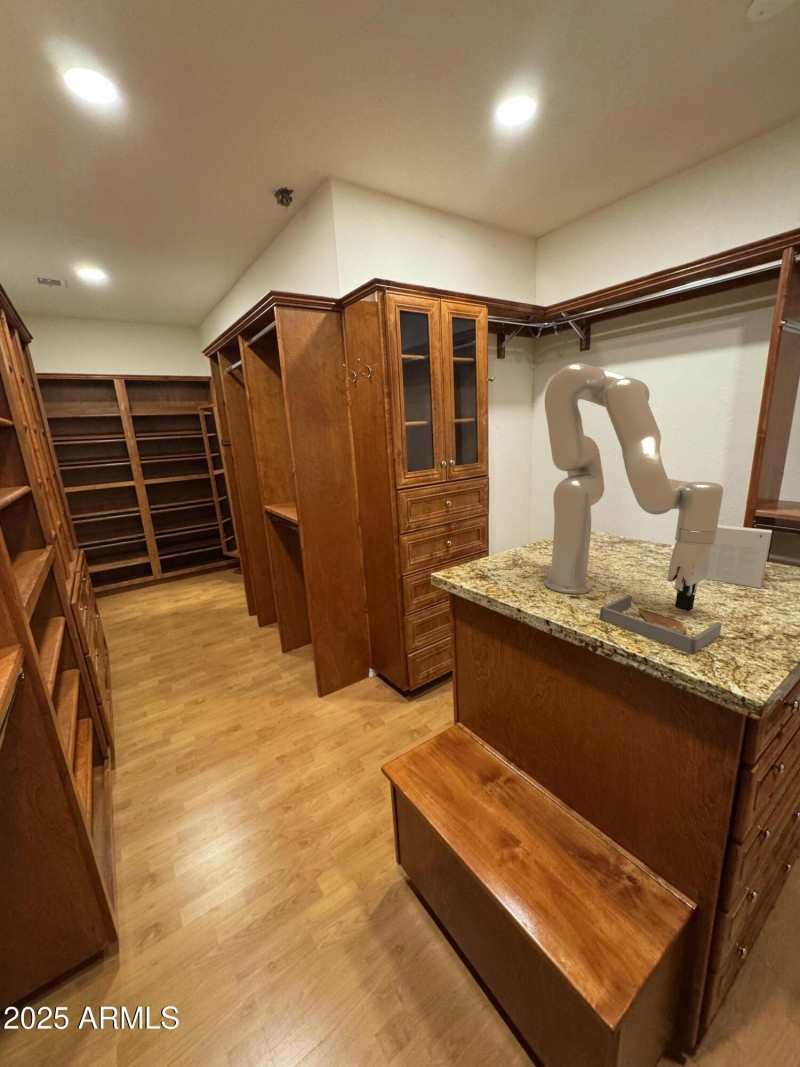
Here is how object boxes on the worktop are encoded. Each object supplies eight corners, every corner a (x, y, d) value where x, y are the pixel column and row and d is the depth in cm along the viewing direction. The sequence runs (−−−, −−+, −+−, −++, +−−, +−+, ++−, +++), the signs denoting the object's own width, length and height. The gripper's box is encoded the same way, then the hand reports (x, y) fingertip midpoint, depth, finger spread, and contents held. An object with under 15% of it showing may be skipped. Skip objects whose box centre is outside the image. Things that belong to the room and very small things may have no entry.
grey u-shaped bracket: (599, 619, 97) (600, 607, 96) (627, 605, 104) (629, 594, 103) (693, 654, 81) (695, 640, 80) (719, 635, 88) (721, 623, 87)
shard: (636, 613, 101) (637, 606, 100) (671, 615, 99) (672, 608, 98) (652, 633, 90) (653, 626, 90) (691, 637, 89) (692, 629, 88)
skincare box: (762, 583, 116) (773, 529, 112) (761, 589, 112) (772, 533, 109) (674, 568, 130) (682, 520, 126) (671, 573, 126) (678, 523, 123)
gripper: (691, 528, 102) (680, 596, 106) (661, 537, 94) (651, 611, 98) (727, 533, 96) (714, 606, 100) (699, 544, 88) (686, 622, 92)
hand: (683, 608), depth 99 cm, fingers closed
